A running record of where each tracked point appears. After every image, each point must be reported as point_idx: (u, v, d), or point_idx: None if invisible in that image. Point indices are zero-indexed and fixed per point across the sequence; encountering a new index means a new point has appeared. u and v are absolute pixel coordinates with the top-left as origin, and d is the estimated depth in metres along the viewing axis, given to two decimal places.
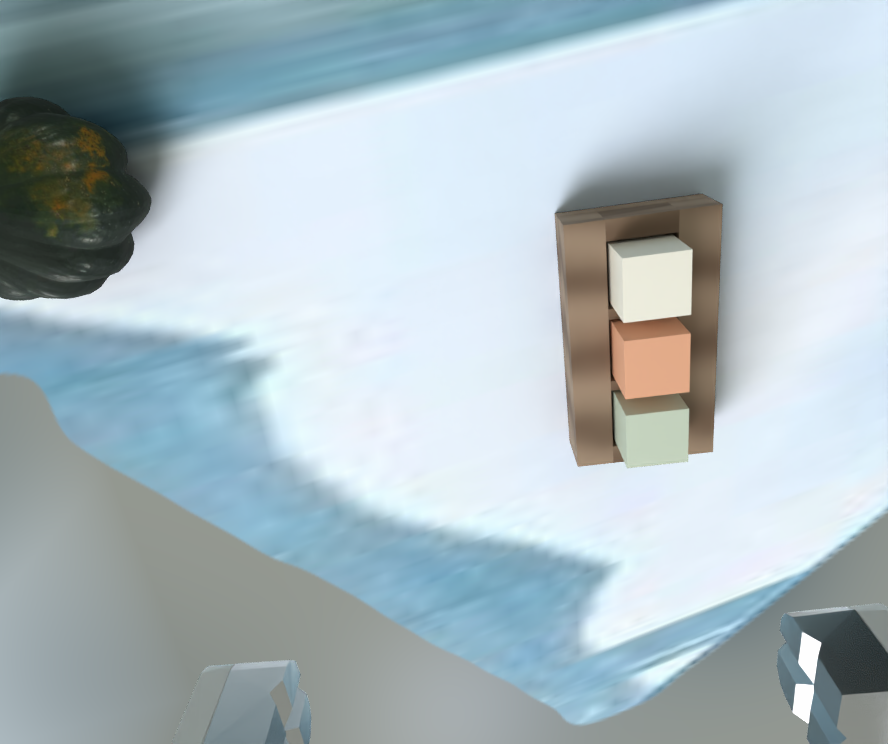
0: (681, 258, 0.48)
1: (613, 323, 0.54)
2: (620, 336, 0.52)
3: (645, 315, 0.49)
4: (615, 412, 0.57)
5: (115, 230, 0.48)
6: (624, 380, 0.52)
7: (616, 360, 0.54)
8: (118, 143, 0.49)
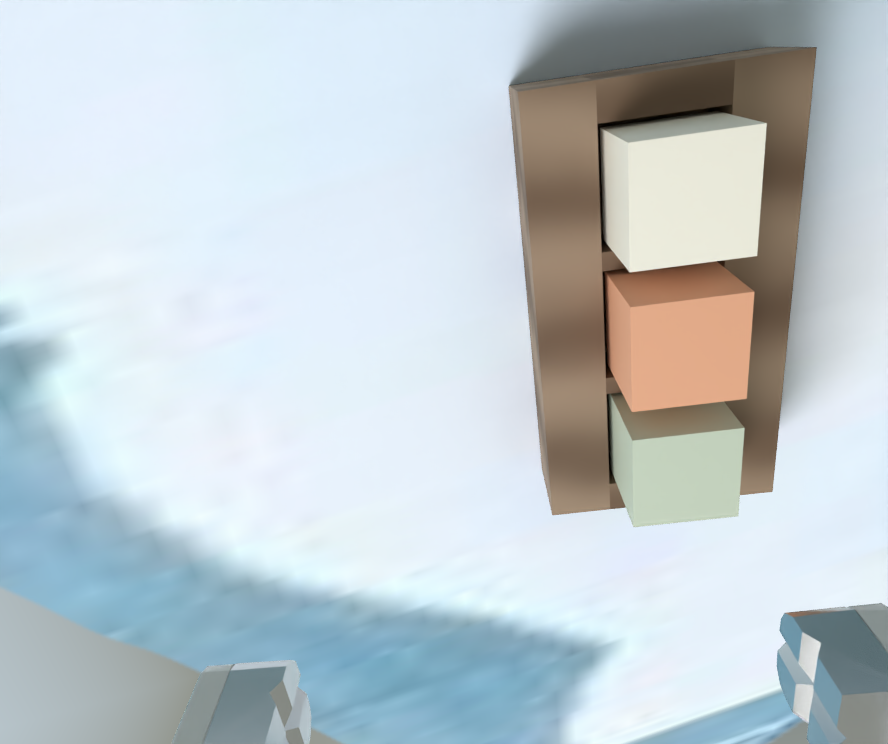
0: (744, 142, 0.24)
1: (610, 277, 0.31)
2: (623, 299, 0.28)
3: (670, 258, 0.26)
4: (613, 429, 0.34)
5: None
6: (630, 378, 0.29)
7: (615, 342, 0.31)
8: None
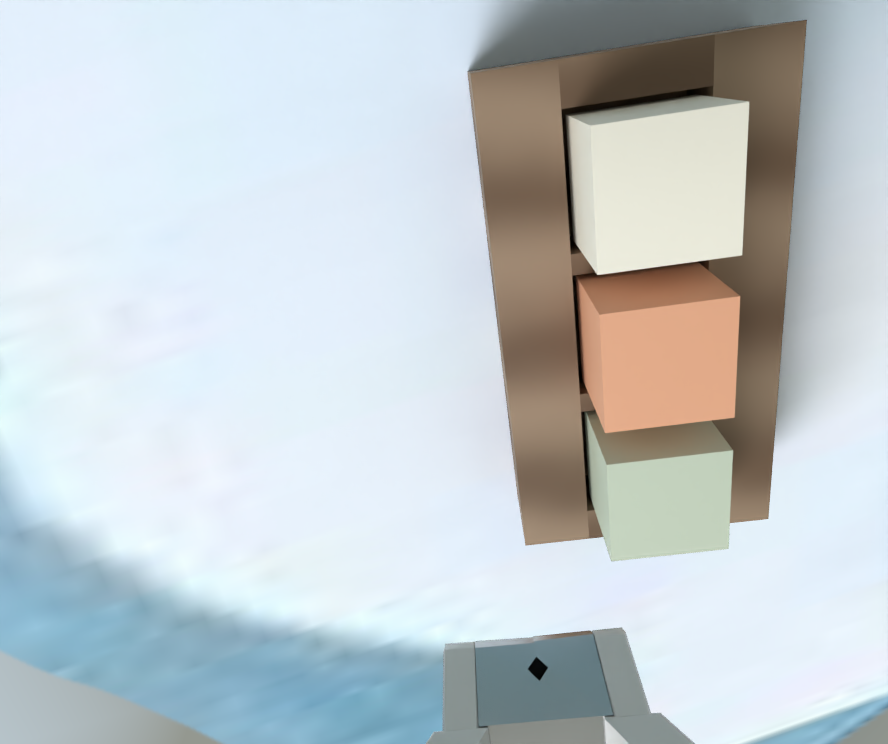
0: (723, 124, 0.21)
1: (581, 282, 0.27)
2: (593, 305, 0.25)
3: (643, 258, 0.23)
4: (590, 451, 0.31)
5: None
6: (602, 395, 0.26)
7: (588, 355, 0.28)
8: None
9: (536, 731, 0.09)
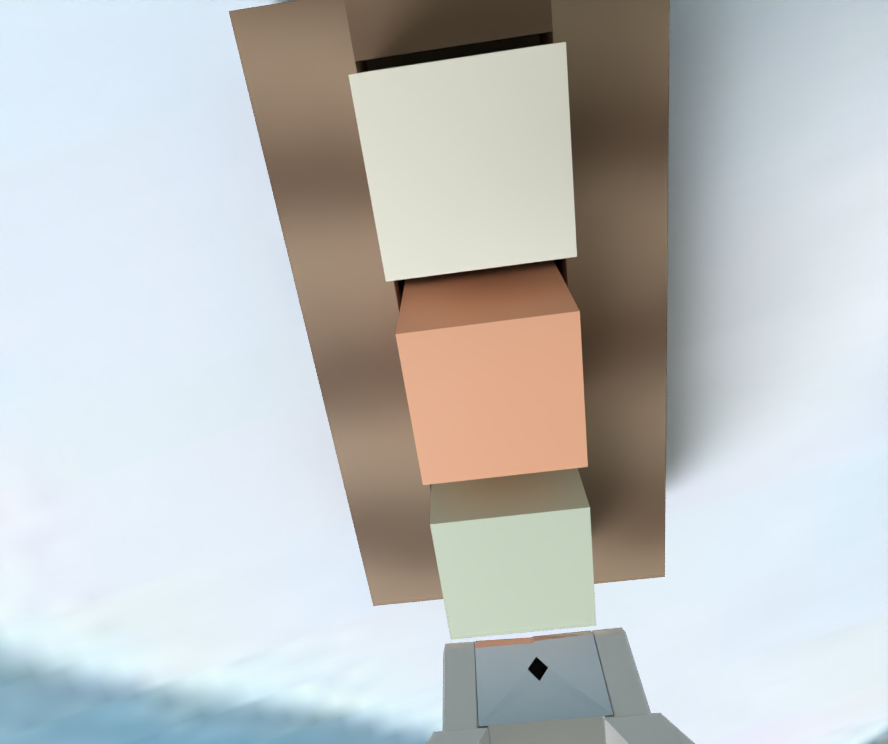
0: (533, 74, 0.15)
1: (405, 289, 0.22)
2: None
3: (444, 260, 0.17)
4: None
5: None
6: None
7: None
8: None
9: (536, 731, 0.09)
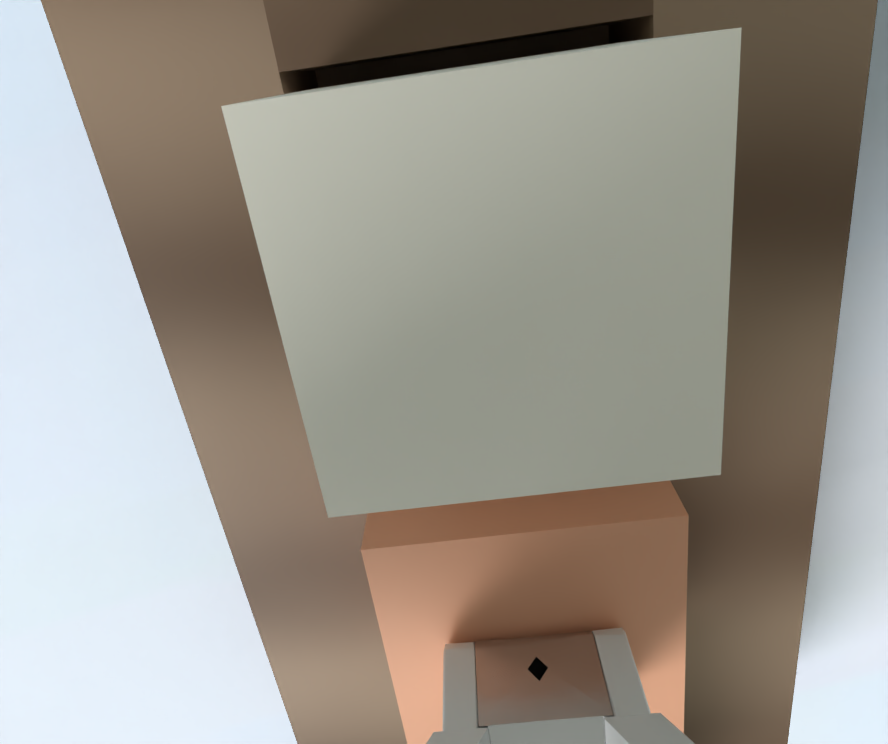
0: (657, 104, 0.06)
1: None
2: None
3: (447, 480, 0.08)
4: None
5: None
6: None
7: None
8: None
9: (536, 731, 0.09)
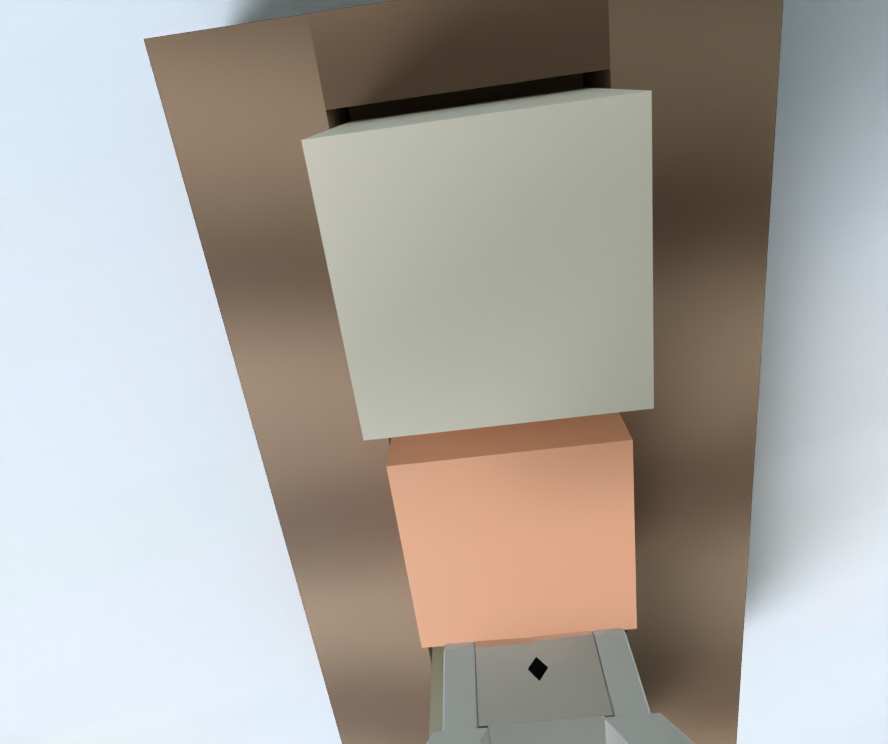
0: (597, 140, 0.10)
1: None
2: None
3: (452, 411, 0.11)
4: None
5: None
6: None
7: None
8: None
9: (536, 731, 0.09)
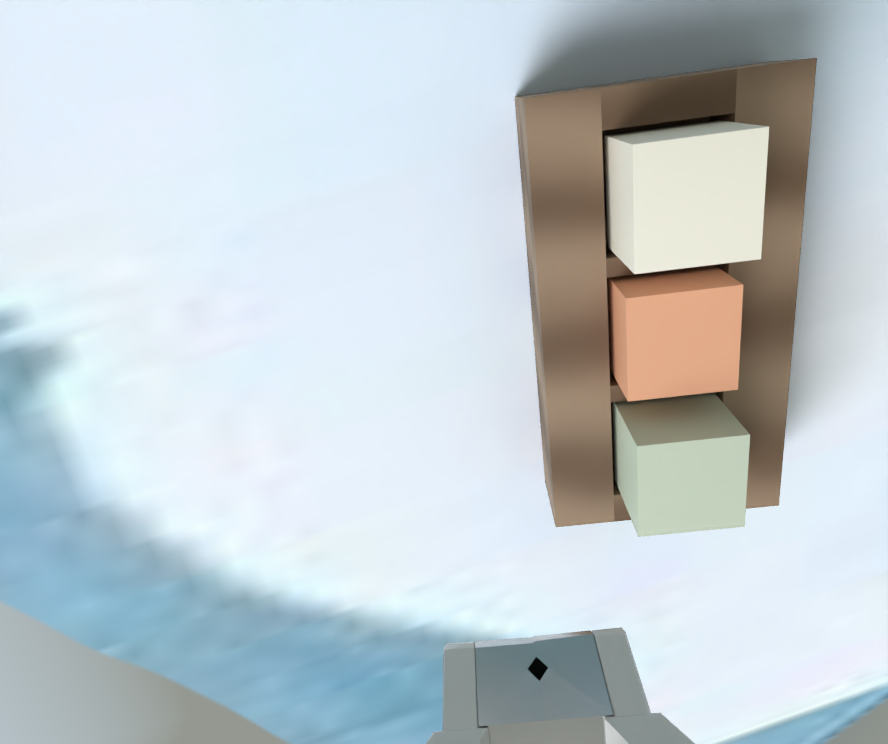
0: (747, 145, 0.25)
1: None
2: (619, 292, 0.30)
3: (674, 260, 0.26)
4: (618, 439, 0.34)
5: None
6: (626, 368, 0.30)
7: (612, 337, 0.32)
8: None
9: (536, 731, 0.09)
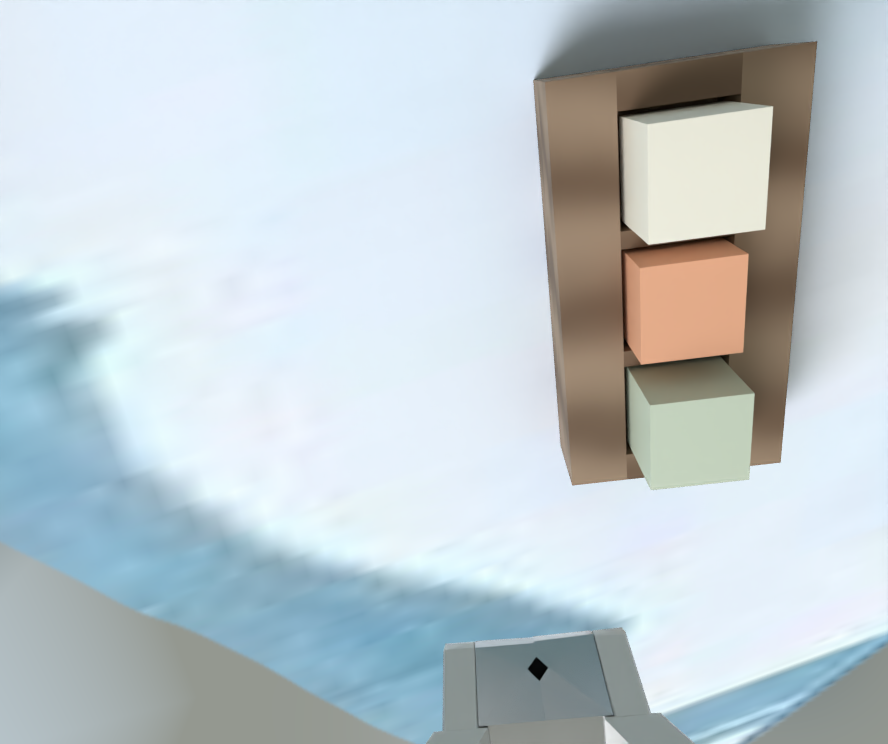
0: (752, 123, 0.27)
1: None
2: (633, 262, 0.32)
3: (685, 231, 0.29)
4: (630, 401, 0.37)
5: None
6: (639, 334, 0.33)
7: (626, 305, 0.35)
8: None
9: (536, 731, 0.09)
